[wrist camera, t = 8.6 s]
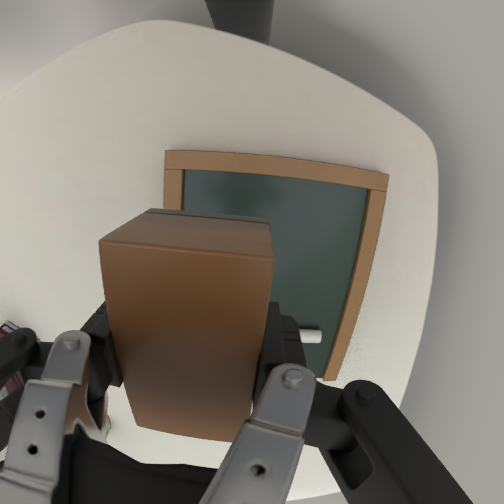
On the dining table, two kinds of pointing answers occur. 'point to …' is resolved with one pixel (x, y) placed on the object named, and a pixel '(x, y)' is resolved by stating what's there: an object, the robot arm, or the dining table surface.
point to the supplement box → (15, 380)
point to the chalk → (310, 336)
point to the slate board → (296, 232)
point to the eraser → (189, 316)
